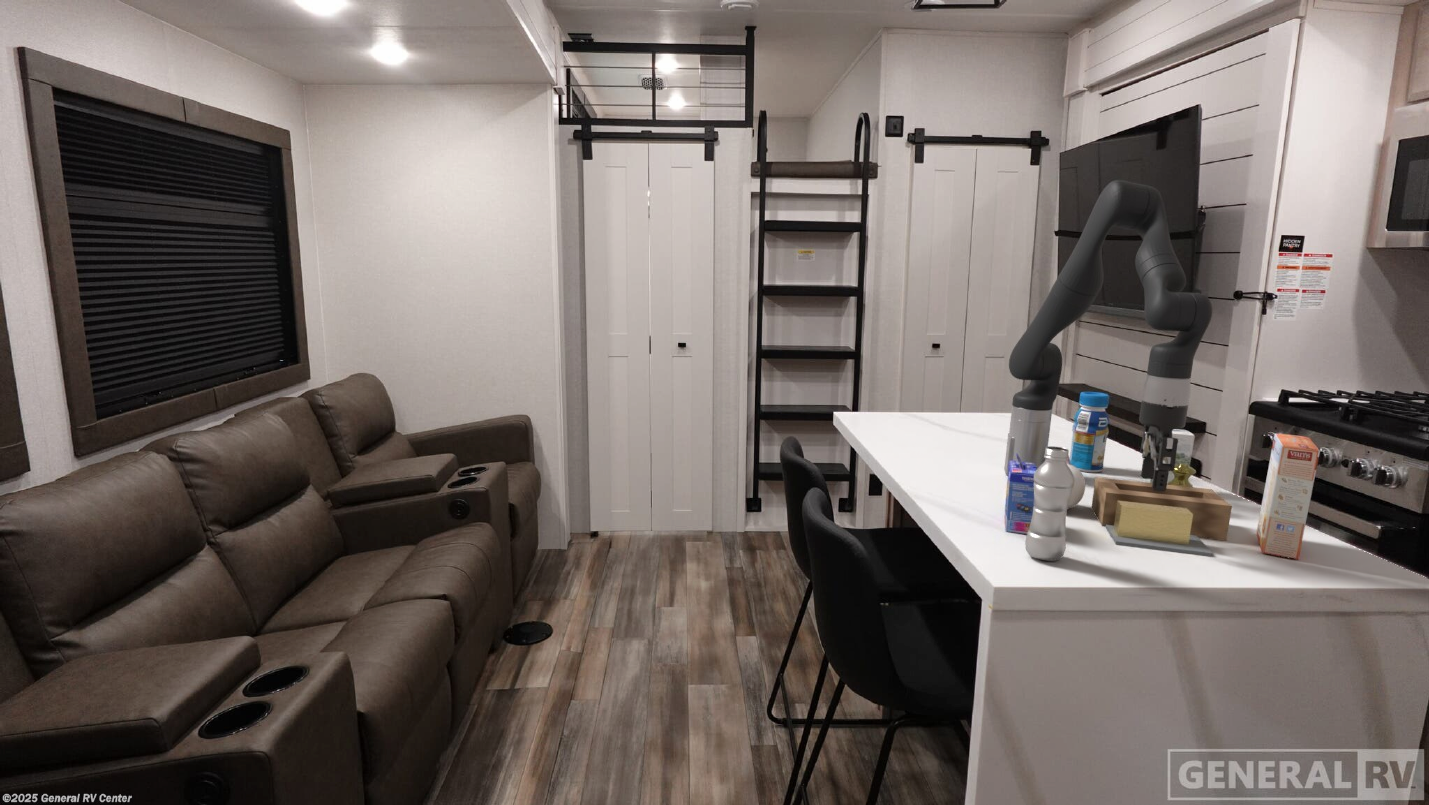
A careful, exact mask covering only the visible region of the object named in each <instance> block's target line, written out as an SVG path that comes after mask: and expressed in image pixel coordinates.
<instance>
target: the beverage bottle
mask: <svg viewBox="0 0 1429 805" xmlns="http://www.w3.org/2000/svg"><path fill="white" fill-rule="evenodd" d="M1109 401H1110V395H1109V394H1108V393H1103V392H1098V391H1097V392H1096V391H1095V392H1094V391H1082V392H1080V395H1079V406H1081V407H1080V408H1079V409H1078V410H1077V411H1076V413H1075V415H1074V417H1073V419H1074V423H1073V425H1072V427H1071V428H1072V429H1071V431H1072V436H1071V437H1072V438H1071V445H1070V451H1069V454H1070V455H1069V459H1070V463H1071V465H1073V466H1075V467H1076V468H1078V469H1079V470H1080V472H1084V473H1101V472H1102V471H1103V470H1104V460H1105V454H1106V445H1107V440H1108V435H1109V427H1108V425H1109V424H1110V418H1109V415H1108V413H1107V411H1106V409H1108V406H1109Z"/></svg>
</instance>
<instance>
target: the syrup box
mask: <svg viewBox="0 0 1429 805" xmlns="http://www.w3.org/2000/svg"><path fill="white" fill-rule="evenodd" d="M1172 437H1173V438H1177V439H1178V444H1177V452H1176V459H1175V465H1178V464H1180V463H1181V464H1187V465H1188V466H1189V467H1191V460H1192V454H1193V450H1194V449H1193V448H1194V443H1195V438H1196V437H1195V434H1194V433H1192V432H1190V431H1189V430H1186V429H1176V428H1175V429H1173V430H1172ZM1163 463H1165V464H1166V461H1164V460H1163ZM1173 478H1174V474H1173V473H1172V472H1171V471H1170V472H1169V474H1168V481H1167V483H1168V482H1169V481H1171V480H1172V479H1173ZM1149 480H1150V481H1149V483H1153V479H1149Z"/></svg>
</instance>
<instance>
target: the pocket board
mask: <svg viewBox="0 0 1429 805" xmlns="http://www.w3.org/2000/svg"><path fill="white" fill-rule="evenodd" d="M1093 486H1094V487H1093V494H1092V500H1091V507H1090V508H1091V510H1092V512H1093V513H1094V516H1096V519H1097V520H1098V522H1099V523H1100V525H1101V526H1103V527H1106V525H1113V526H1114V522H1115V515H1116V508H1117V500H1118V501H1127V502H1136V503H1145V504H1153V505H1162V506H1171V507H1180V508H1187V509H1188V510H1189V511H1190V512H1191V513H1192V514H1193V518H1192V525H1191V531H1190V535H1196V536H1197V537H1198V538H1202V539H1209V538H1212V539H1211V540H1218V539H1219V540H1218V541H1227V538H1228V533H1229V532H1228V531H1229V527H1230V521H1231V516H1232V509H1233V506H1232V505H1231V504H1230V503H1229V502H1228V501H1227V500H1225V498H1223V497H1222V496H1221V495H1220V494H1218V493H1217V492H1216V491H1215V490H1214V489H1211V488H1203V487H1194V486H1193V487H1186V486H1176V485H1167V487H1166V490H1165V491H1155V490H1153V489H1152V483H1150V482H1147V481H1146V482H1145V481H1137V480H1136V481H1135V480H1128V479H1127V480H1126V479H1116V478H1107V477H1097V476H1096V477H1095V478H1094V485H1093Z"/></svg>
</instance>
